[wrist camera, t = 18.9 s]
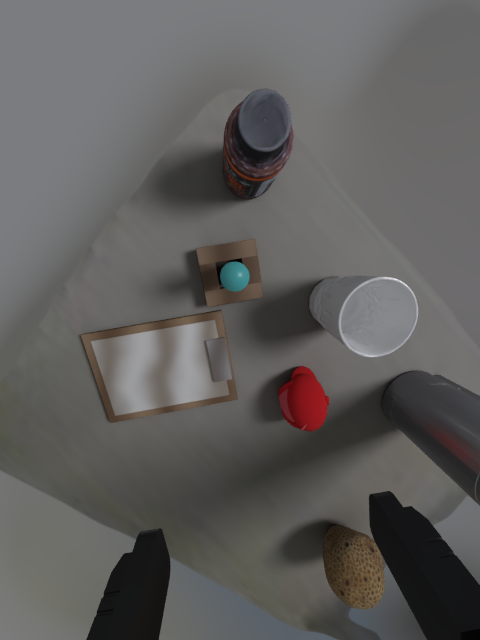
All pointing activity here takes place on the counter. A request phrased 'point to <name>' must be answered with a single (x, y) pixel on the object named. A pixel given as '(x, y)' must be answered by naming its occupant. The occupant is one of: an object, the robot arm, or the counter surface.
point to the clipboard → (161, 366)
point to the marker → (234, 276)
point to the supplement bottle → (256, 143)
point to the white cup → (365, 312)
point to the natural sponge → (353, 567)
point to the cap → (303, 400)
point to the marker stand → (224, 253)
